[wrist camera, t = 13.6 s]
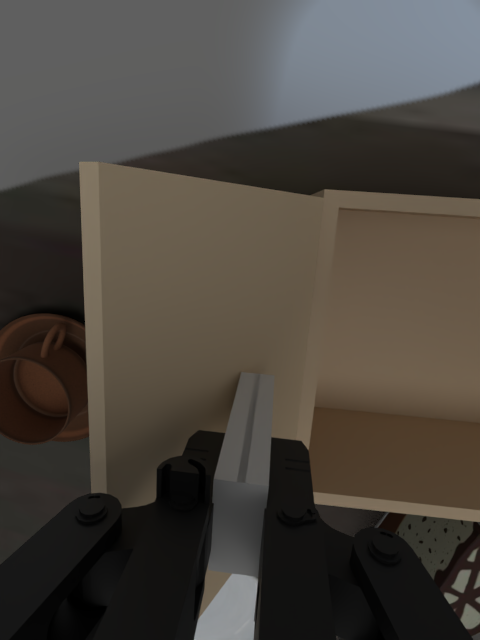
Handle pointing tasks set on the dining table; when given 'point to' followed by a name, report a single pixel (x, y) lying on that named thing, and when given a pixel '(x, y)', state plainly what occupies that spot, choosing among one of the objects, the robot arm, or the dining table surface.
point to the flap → (187, 314)
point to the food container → (446, 558)
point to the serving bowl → (230, 611)
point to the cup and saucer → (43, 380)
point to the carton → (395, 355)
